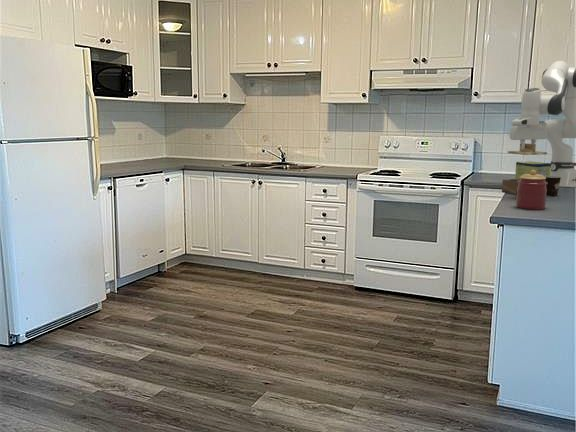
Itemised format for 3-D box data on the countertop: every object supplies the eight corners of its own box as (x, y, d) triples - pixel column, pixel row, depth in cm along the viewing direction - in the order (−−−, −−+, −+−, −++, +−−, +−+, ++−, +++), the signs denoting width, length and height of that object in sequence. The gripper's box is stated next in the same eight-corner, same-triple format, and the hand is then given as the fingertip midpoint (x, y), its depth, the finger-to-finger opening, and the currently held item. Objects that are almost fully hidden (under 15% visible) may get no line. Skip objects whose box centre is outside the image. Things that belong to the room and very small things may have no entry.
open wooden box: (520, 191, 309) (520, 178, 307) (535, 194, 297) (536, 181, 296) (501, 192, 305) (502, 179, 304) (516, 195, 294) (517, 182, 293)
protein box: (526, 187, 323) (528, 160, 320) (549, 190, 309) (551, 163, 306) (513, 188, 319) (515, 161, 316) (535, 192, 305) (538, 164, 302)
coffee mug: (554, 194, 298) (555, 175, 296) (562, 196, 290) (564, 177, 288) (532, 194, 298) (534, 175, 296) (540, 196, 289) (542, 177, 287)
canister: (525, 204, 268) (527, 167, 264) (551, 207, 257) (554, 170, 254) (509, 207, 260) (512, 169, 257) (536, 211, 250) (539, 172, 246)
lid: (528, 152, 289) (529, 142, 288) (546, 154, 277) (547, 144, 276) (507, 153, 286) (508, 143, 285) (525, 155, 273) (526, 144, 273)
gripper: (542, 120, 284) (539, 147, 287) (508, 121, 278) (506, 148, 281) (551, 121, 278) (548, 148, 281) (517, 121, 273) (515, 149, 275)
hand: (527, 148), depth 281 cm, fingers closed on lid, 3 cm apart
